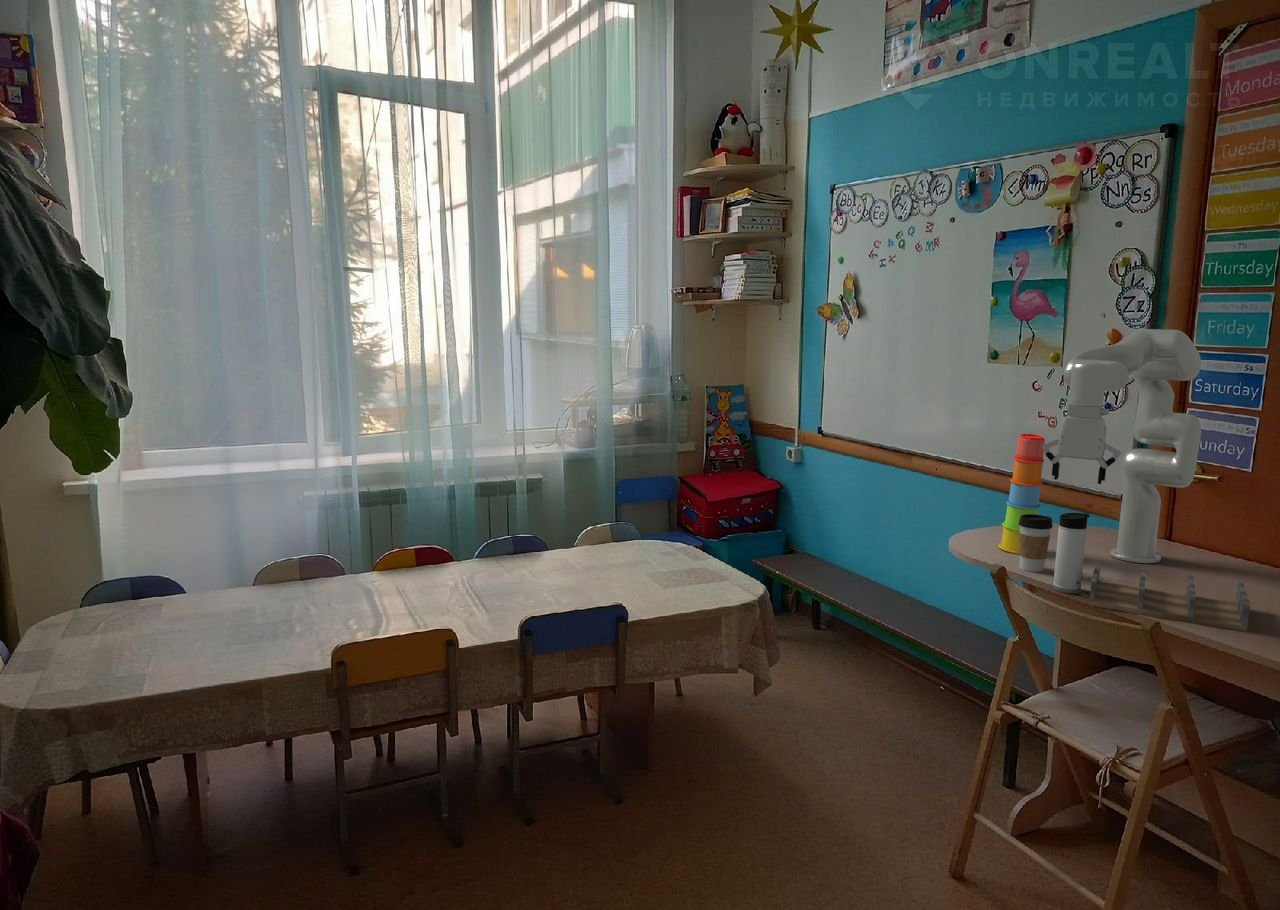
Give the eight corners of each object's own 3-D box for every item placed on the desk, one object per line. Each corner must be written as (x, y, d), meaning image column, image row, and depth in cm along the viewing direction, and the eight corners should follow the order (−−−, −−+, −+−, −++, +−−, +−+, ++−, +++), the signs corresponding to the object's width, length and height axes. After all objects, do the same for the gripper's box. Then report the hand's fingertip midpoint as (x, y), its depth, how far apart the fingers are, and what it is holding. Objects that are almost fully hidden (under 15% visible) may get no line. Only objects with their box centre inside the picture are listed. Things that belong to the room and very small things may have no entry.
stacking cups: (1030, 545, 251) (1040, 432, 245) (1040, 555, 241) (1051, 437, 235) (994, 544, 253) (1004, 431, 247) (1003, 553, 243) (1012, 436, 237)
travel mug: (1085, 594, 208) (1093, 517, 205) (1056, 592, 210) (1064, 515, 206) (1077, 586, 214) (1085, 511, 211) (1049, 584, 216) (1057, 509, 212)
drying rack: (1093, 584, 216) (1096, 561, 215) (1239, 607, 200) (1243, 582, 199) (1088, 605, 201) (1091, 580, 200) (1246, 631, 185) (1250, 605, 184)
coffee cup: (1036, 575, 223) (1041, 521, 221) (1008, 567, 230) (1012, 514, 228) (1054, 570, 228) (1060, 517, 225) (1026, 562, 235) (1031, 510, 232)
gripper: (1125, 413, 203) (1118, 482, 206) (1047, 408, 212) (1041, 474, 215) (1124, 416, 196) (1116, 487, 199) (1044, 411, 205) (1037, 479, 208)
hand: (1077, 481), depth 207 cm, fingers open, 9 cm apart
